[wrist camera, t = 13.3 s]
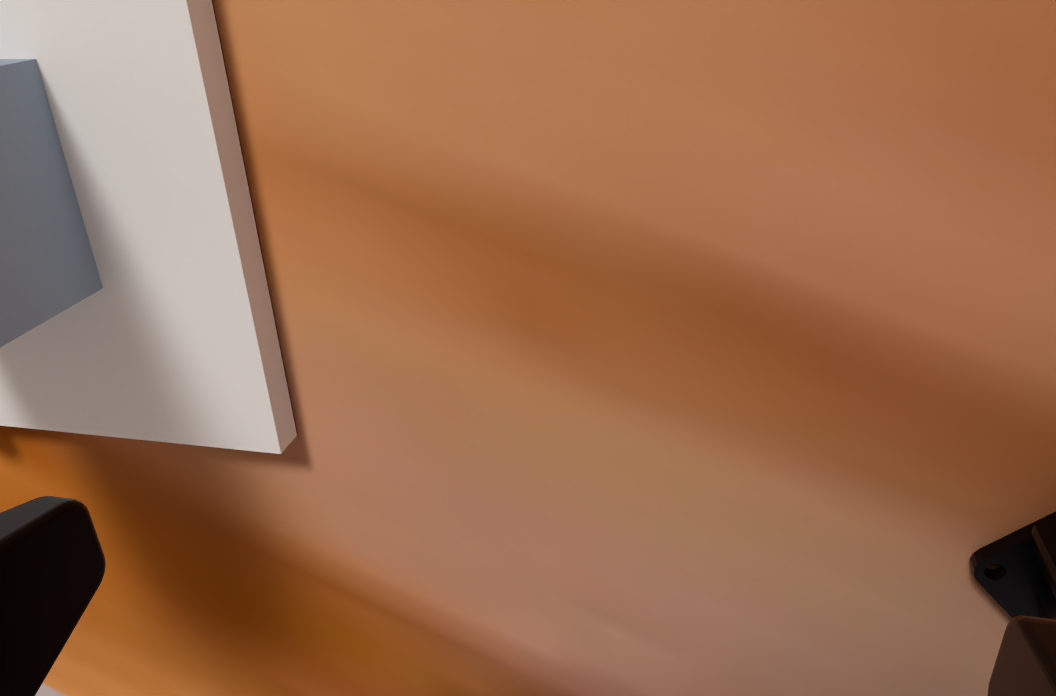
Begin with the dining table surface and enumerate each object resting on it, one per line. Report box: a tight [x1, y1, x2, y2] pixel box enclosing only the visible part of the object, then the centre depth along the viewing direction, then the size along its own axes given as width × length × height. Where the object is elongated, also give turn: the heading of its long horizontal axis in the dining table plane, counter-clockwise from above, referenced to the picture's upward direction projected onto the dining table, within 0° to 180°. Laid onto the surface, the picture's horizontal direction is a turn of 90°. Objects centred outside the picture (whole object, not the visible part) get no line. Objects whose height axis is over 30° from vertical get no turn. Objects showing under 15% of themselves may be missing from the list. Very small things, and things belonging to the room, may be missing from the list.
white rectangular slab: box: [0, 0, 297, 454], centre depth 22 cm, size 12×16×2 cm
